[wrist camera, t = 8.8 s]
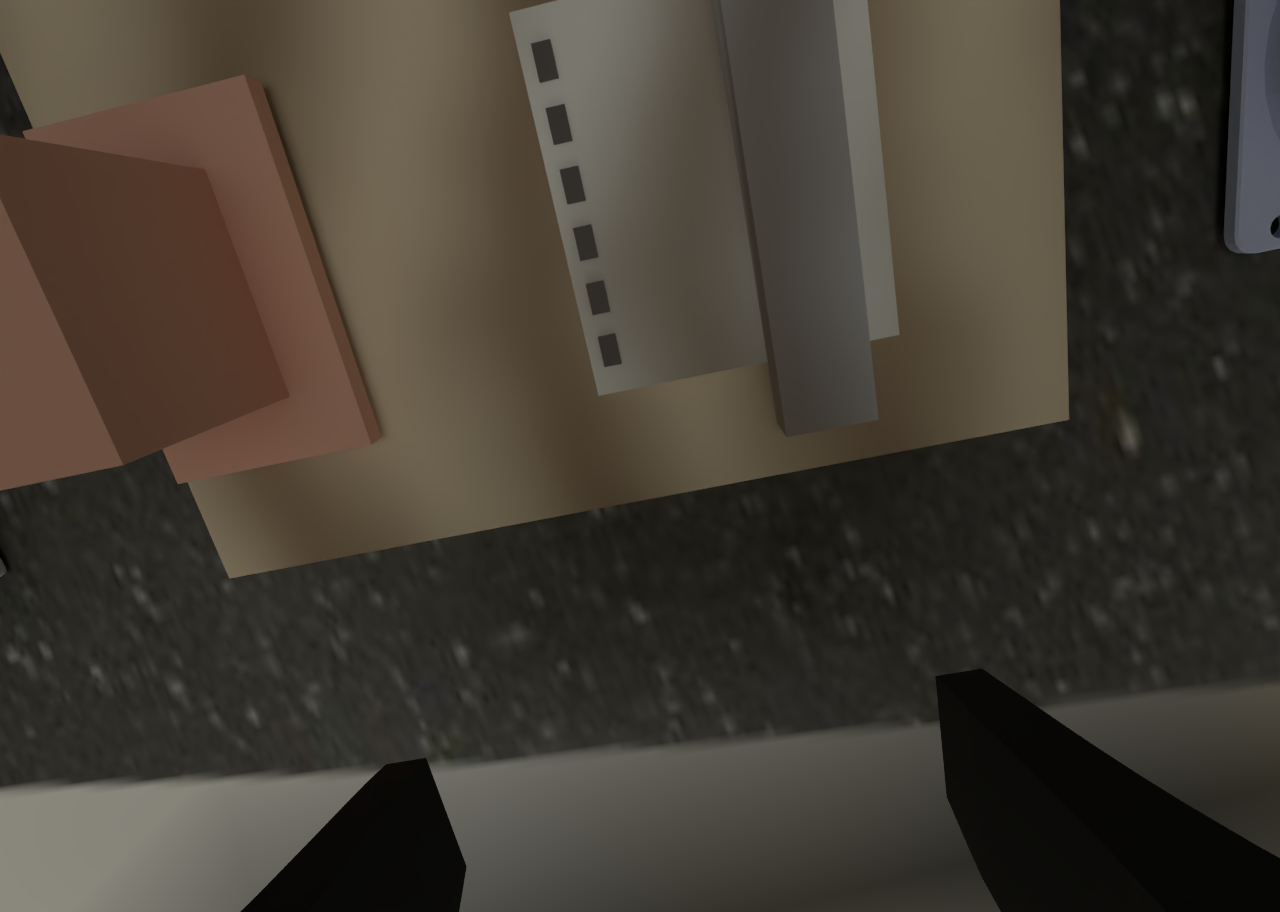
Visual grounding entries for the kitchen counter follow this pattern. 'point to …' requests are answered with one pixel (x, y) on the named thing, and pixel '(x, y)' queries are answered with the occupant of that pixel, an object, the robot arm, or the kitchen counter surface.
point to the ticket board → (623, 236)
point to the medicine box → (2, 568)
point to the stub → (166, 296)
